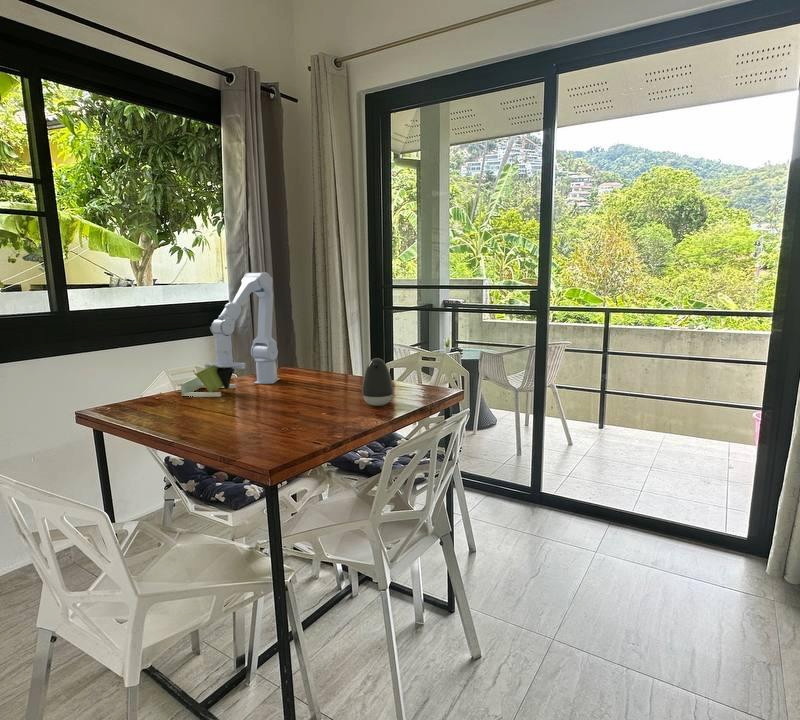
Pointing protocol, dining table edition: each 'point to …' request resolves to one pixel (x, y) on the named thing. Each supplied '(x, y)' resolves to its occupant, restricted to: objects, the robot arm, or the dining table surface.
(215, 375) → the plant pot
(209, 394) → the display bay
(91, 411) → the dining table surface
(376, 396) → the dark grey egg shape
